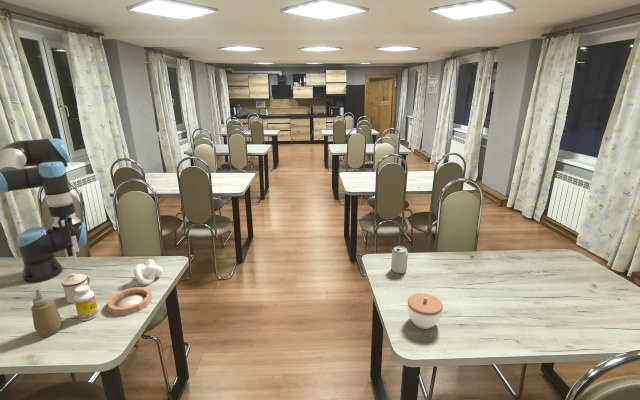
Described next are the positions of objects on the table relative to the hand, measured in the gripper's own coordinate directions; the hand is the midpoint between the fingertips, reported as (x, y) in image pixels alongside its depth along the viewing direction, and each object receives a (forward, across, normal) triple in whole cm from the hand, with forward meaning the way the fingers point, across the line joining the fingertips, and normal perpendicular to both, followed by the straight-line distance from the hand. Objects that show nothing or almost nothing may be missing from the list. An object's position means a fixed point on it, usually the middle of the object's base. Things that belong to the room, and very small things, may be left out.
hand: (74, 257), depth 132 cm
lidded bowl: (+31, -76, -109) cm, 136 cm away
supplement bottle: (+25, -1, 0) cm, 25 cm away
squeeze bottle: (+25, -4, +12) cm, 28 cm away
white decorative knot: (+24, +16, -24) cm, 37 cm away
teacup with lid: (+24, +18, +3) cm, 30 cm away
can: (+29, -42, -130) cm, 139 cm away
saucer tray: (+25, 0, -15) cm, 29 cm away
